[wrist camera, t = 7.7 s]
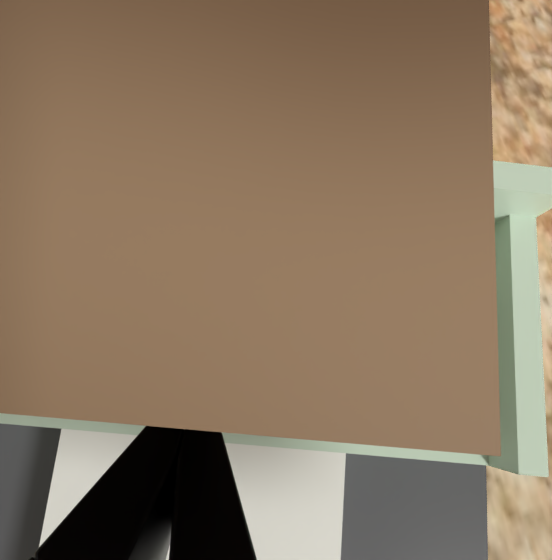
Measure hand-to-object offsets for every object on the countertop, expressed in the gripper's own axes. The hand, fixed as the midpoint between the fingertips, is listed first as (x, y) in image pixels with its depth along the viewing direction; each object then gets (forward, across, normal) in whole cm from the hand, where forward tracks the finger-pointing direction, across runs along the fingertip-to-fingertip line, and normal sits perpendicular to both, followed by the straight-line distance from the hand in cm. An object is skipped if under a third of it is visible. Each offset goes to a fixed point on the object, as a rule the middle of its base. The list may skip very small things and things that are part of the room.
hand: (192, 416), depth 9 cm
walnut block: (+5, 0, +1) cm, 5 cm away
